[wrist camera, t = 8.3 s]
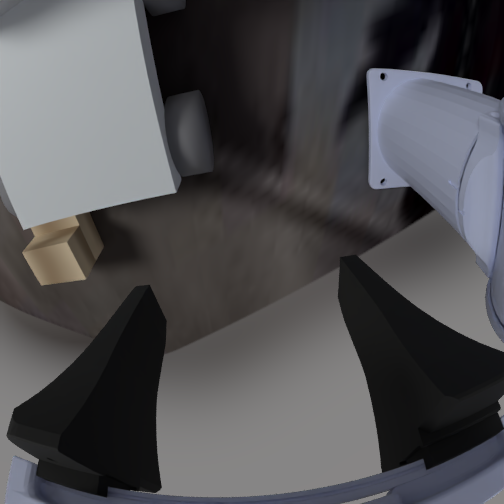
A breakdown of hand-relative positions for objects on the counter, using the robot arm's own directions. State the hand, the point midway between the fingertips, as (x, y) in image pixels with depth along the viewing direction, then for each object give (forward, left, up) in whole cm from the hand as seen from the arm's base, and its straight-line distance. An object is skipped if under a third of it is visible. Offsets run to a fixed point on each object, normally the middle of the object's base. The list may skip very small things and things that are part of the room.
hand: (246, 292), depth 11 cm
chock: (+13, 0, -10) cm, 16 cm away
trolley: (+8, -9, -9) cm, 15 cm away
